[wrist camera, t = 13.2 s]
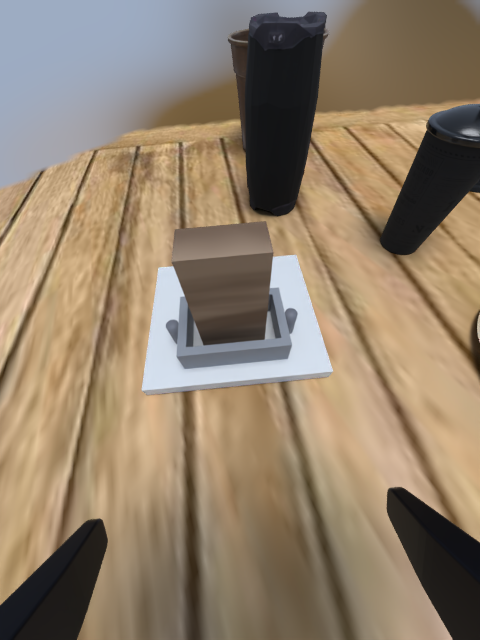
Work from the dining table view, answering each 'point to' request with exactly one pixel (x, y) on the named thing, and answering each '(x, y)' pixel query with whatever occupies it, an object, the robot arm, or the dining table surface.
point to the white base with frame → (240, 357)
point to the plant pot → (244, 68)
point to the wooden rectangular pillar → (225, 279)
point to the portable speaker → (280, 105)
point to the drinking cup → (436, 178)
